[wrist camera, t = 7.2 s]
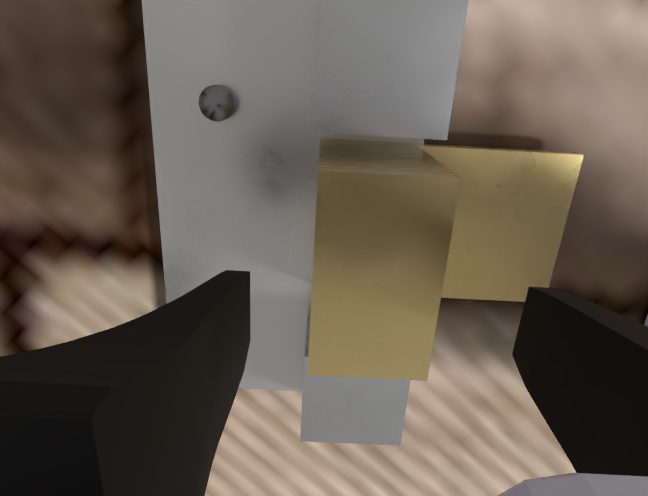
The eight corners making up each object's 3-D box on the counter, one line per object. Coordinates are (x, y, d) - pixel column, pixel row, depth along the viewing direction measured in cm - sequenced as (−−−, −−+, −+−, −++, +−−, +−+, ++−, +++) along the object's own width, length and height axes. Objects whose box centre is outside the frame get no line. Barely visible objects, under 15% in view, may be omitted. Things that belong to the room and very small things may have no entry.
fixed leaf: (436, 8, 16) (469, -11, 12) (387, 383, 21) (400, 445, 18) (149, -10, 15) (96, -35, 12) (178, 374, 21) (148, 434, 18)
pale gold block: (575, 152, 17) (702, 191, 11) (538, 296, 19) (629, 389, 13) (320, 137, 16) (318, 170, 11) (312, 284, 19) (307, 375, 13)
